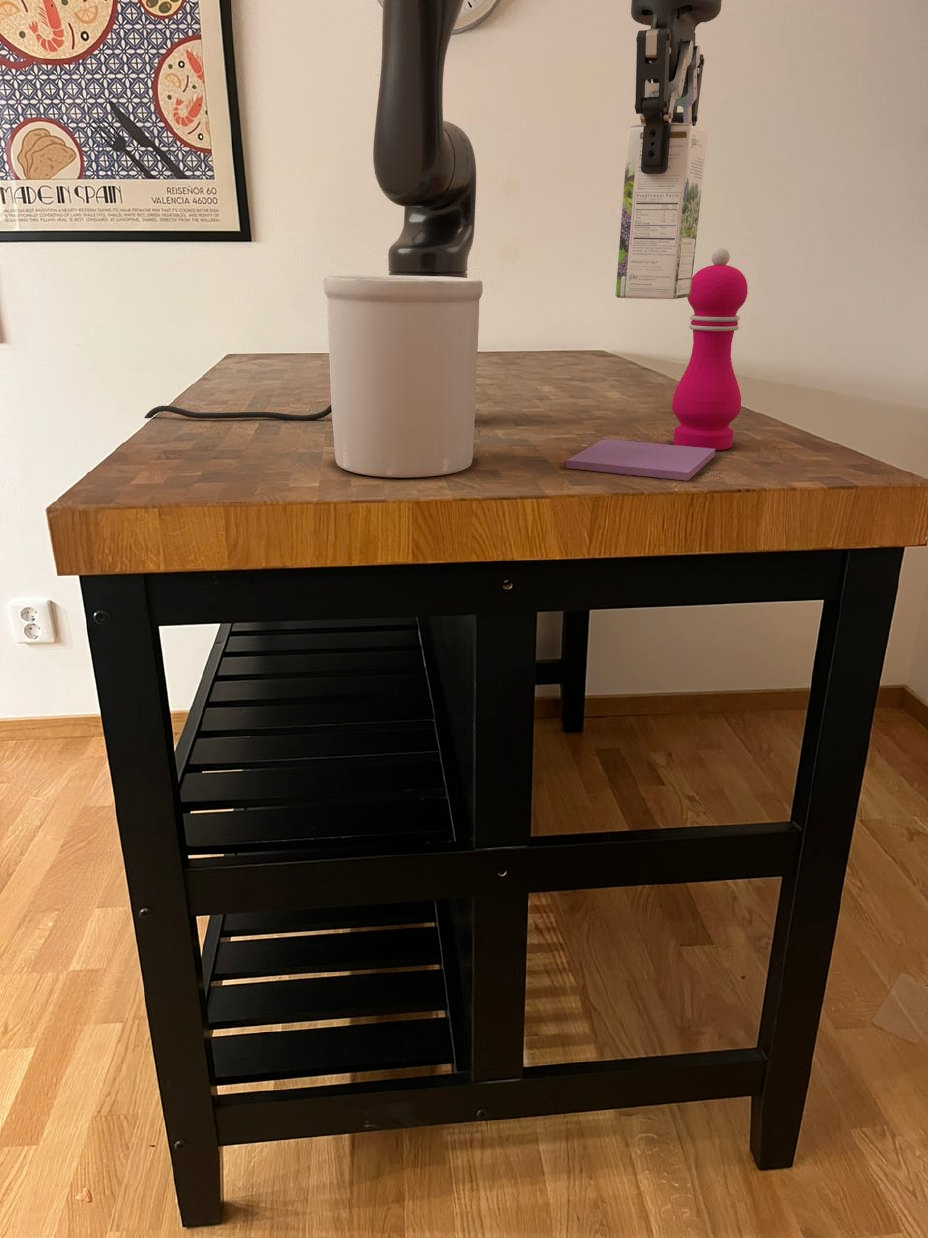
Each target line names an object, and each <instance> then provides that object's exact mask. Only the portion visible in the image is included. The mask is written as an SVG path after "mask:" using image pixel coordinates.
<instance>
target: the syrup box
mask: <svg viewBox="0 0 928 1238" xmlns="http://www.w3.org/2000/svg"><path fill="white" fill-rule="evenodd" d="M666 125H670V126H671V130H670V142H669V155H668V167H667V171H666V172H665V173H663V174H644V173H643V172H642V171H641V157H642V143H643V128H644V126H646V124H645V125H642V124H641V123H640V124H634V125H630V126H629V127H628V130H627V131H628V133H627V142H626V157H625V158H626V159H625V167H624V179H623V180H624V181H623V194H622V207H621V217H620V218H621V220H620V232H619V245H618V246H619V247H618V257H617V258H618V259H617V270H616V271H617V273H616V285H615V297H616V298H617V299H631V300H632V299H633V300H634V299H635V300H636V299H638V300H677V299H684V298H687V297H689V296H690V293H691V285H692V277H693V276H694V275H693V274H694V267H695V266H694V265H695V255H696V245H697V237H698V229H699V228H698V226H699V219H700V218H699V217H700V209H701V198H702V191H703V190H702V189H703V181H704V180H703V179H704V168H705V159H706V149H707V141H708V132H707V131H706V130H705V129H700V128H698V127H696V126H692V125H691V124H690V123H688V124H684V123H666Z"/></svg>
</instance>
